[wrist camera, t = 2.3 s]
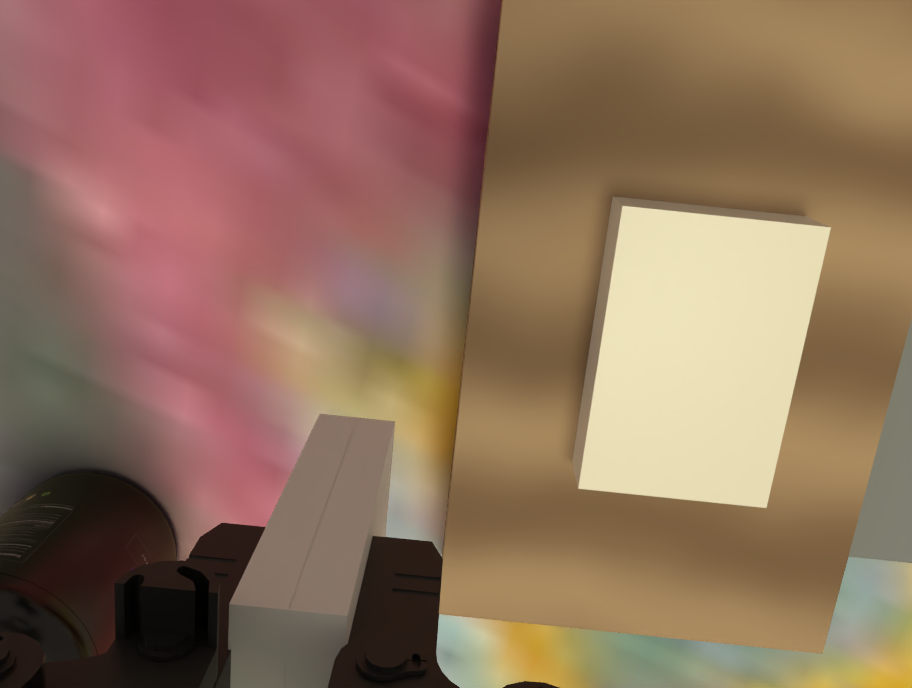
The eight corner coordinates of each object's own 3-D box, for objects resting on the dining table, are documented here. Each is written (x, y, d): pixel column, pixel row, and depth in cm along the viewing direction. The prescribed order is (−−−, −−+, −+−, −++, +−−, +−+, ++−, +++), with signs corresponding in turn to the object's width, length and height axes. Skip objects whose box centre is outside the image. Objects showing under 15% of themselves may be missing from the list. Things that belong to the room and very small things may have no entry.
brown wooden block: (504, -31, 29) (507, -46, 25) (927, 13, 29) (994, 4, 25) (442, 555, 35) (436, 613, 32) (786, 590, 35) (822, 653, 32)
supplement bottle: (211, 582, 36) (85, 819, 25) (69, 634, 37) (-116, 886, 26) (130, 440, 34) (-47, 625, 23) (-17, 499, 35) (-257, 705, 24)
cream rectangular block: (612, 195, 27) (622, 205, 25) (806, 216, 27) (830, 227, 25) (572, 461, 30) (578, 488, 28) (748, 479, 30) (766, 507, 28)
